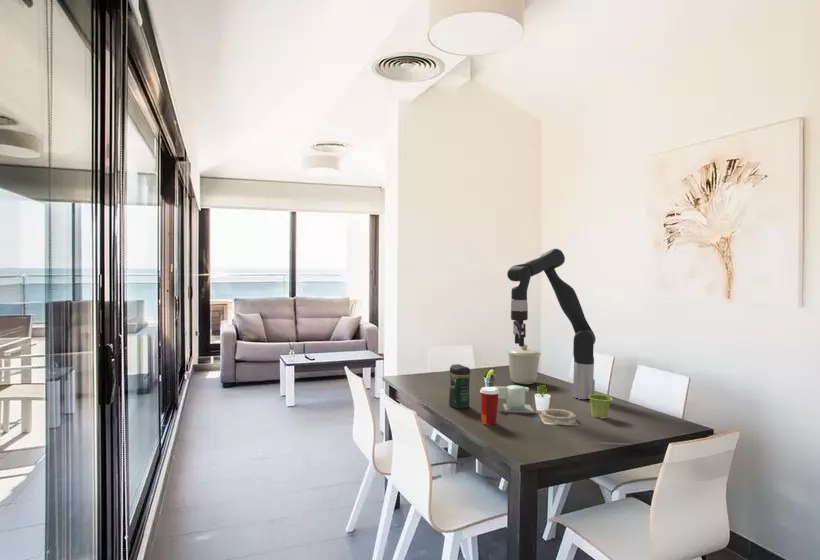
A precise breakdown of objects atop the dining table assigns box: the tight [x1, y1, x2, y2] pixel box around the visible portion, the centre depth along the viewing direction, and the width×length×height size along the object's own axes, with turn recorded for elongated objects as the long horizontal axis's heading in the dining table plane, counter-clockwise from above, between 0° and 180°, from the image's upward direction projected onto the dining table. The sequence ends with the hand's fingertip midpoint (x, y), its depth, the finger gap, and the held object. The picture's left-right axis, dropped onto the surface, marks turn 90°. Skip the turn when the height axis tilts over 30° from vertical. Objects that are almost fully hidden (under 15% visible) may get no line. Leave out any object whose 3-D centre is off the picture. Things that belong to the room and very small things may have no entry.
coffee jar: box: [448, 363, 471, 410], centre depth 224 cm, size 10×8×19 cm
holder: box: [537, 408, 580, 426], centre depth 206 cm, size 14×14×3 cm
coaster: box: [502, 403, 536, 414], centre depth 221 cm, size 12×12×1 cm
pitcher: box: [492, 384, 530, 410], centre depth 221 cm, size 15×8×9 cm, turn 87°
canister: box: [507, 343, 542, 385], centre depth 274 cm, size 18×18×21 cm
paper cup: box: [479, 386, 499, 426], centre depth 200 cm, size 8×8×14 cm
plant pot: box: [589, 394, 613, 418], centre depth 212 cm, size 9×9×9 cm
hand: (519, 344), depth 229 cm, fingers open, 8 cm apart
